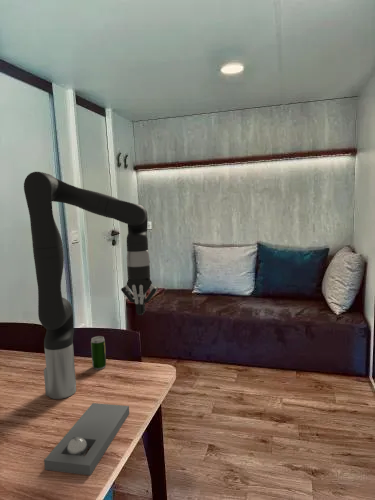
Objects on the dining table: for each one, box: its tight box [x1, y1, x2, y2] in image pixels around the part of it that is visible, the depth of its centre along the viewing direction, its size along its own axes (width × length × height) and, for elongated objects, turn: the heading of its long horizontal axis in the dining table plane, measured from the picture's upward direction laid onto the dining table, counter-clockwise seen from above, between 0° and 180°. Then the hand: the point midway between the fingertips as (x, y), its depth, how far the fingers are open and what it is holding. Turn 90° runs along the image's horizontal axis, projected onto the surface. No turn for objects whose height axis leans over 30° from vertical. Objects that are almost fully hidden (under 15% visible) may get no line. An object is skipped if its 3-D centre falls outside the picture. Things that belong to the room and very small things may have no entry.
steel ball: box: [67, 437, 89, 456], centre depth 91 cm, size 5×5×5 cm
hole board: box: [43, 402, 130, 476], centre depth 98 cm, size 12×26×2 cm, turn 169°
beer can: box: [90, 335, 107, 371], centre depth 143 cm, size 5×5×12 cm
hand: (140, 314), depth 121 cm, fingers closed
